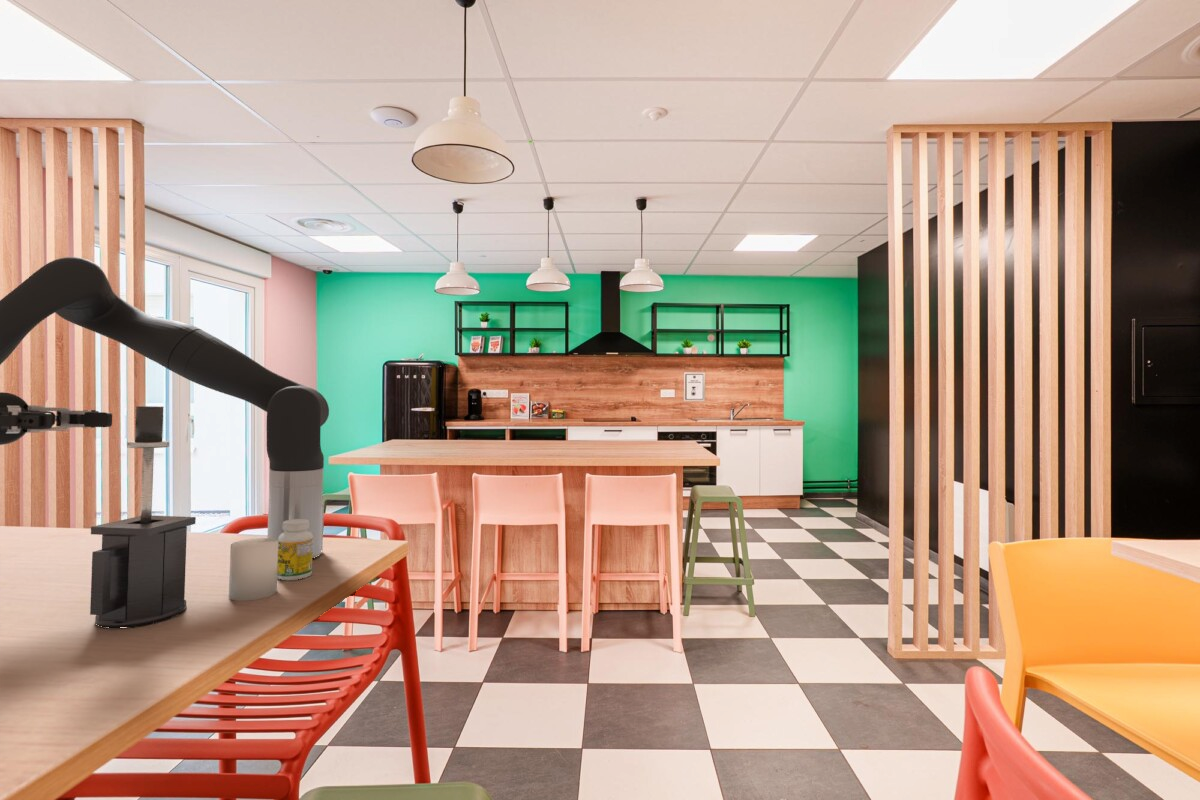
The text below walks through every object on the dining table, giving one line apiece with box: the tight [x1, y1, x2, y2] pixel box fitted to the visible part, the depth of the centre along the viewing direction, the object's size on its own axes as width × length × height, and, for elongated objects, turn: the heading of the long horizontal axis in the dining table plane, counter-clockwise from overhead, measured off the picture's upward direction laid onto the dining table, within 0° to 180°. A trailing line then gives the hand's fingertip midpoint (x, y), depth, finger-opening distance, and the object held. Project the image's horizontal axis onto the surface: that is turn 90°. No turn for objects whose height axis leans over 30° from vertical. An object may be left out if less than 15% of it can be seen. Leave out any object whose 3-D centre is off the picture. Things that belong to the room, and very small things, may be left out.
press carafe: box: [89, 515, 197, 628], centre depth 76 cm, size 12×10×13 cm
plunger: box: [126, 405, 170, 524], centre depth 77 cm, size 5×5×21 cm
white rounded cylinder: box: [228, 537, 278, 602], centre depth 86 cm, size 6×6×8 cm
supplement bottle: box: [277, 519, 313, 581], centre depth 95 cm, size 5×5×10 cm
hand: (81, 420), depth 78 cm, fingers open, 8 cm apart
